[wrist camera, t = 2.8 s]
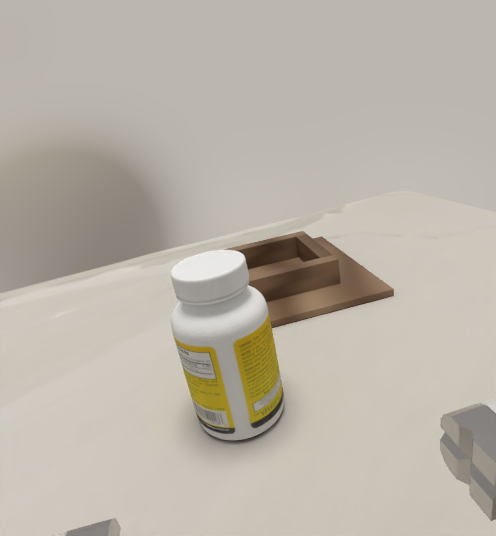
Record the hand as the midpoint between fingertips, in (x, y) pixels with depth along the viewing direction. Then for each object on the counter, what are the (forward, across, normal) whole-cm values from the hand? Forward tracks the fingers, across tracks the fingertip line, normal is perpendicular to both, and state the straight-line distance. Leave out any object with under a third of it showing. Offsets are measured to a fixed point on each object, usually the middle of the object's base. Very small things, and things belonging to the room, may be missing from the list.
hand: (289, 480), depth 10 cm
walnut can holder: (+28, +6, -9) cm, 31 cm away
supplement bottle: (+12, 0, -9) cm, 15 cm away
